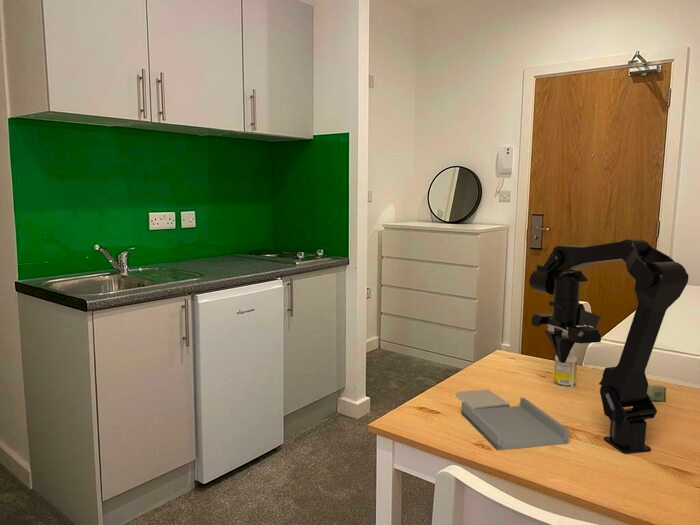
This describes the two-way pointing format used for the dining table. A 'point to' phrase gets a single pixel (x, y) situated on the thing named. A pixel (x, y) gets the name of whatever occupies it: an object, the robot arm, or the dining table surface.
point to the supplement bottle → (566, 371)
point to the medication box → (656, 393)
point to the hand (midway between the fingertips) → (562, 362)
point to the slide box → (516, 426)
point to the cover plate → (481, 399)
